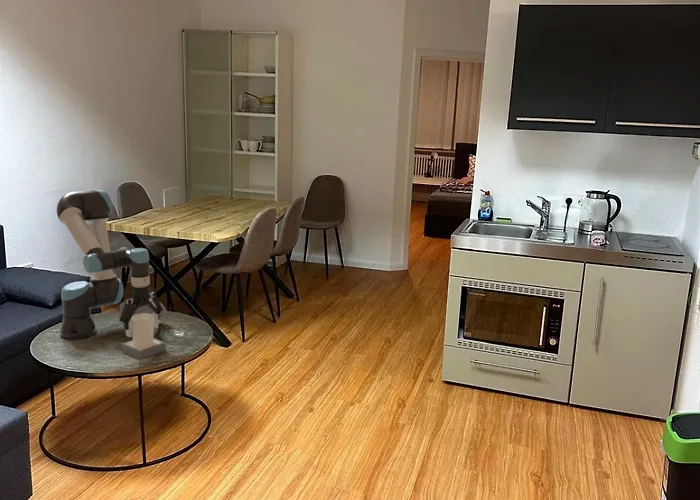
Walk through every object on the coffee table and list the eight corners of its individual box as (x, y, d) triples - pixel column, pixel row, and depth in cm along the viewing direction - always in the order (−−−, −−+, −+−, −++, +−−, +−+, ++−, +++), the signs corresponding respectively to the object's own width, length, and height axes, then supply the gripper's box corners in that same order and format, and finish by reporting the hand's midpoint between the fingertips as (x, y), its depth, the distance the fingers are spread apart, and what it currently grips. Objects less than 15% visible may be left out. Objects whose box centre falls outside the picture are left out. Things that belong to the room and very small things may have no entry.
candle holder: (137, 337, 274) (136, 312, 271) (158, 339, 273) (157, 313, 270) (127, 346, 264) (125, 320, 261) (149, 348, 263) (148, 321, 260)
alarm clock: (167, 323, 301) (166, 298, 298) (159, 327, 295) (158, 302, 292) (128, 316, 309) (127, 291, 306) (120, 320, 303) (118, 295, 300)
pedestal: (121, 351, 268) (121, 343, 267) (147, 342, 278) (146, 335, 277) (140, 359, 260) (139, 351, 260) (165, 350, 271) (165, 342, 270)
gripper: (119, 293, 250) (122, 342, 255) (170, 280, 270) (171, 325, 275) (108, 289, 254) (111, 337, 260) (159, 276, 274) (160, 321, 279)
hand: (142, 331), depth 267 cm, fingers open, 13 cm apart
